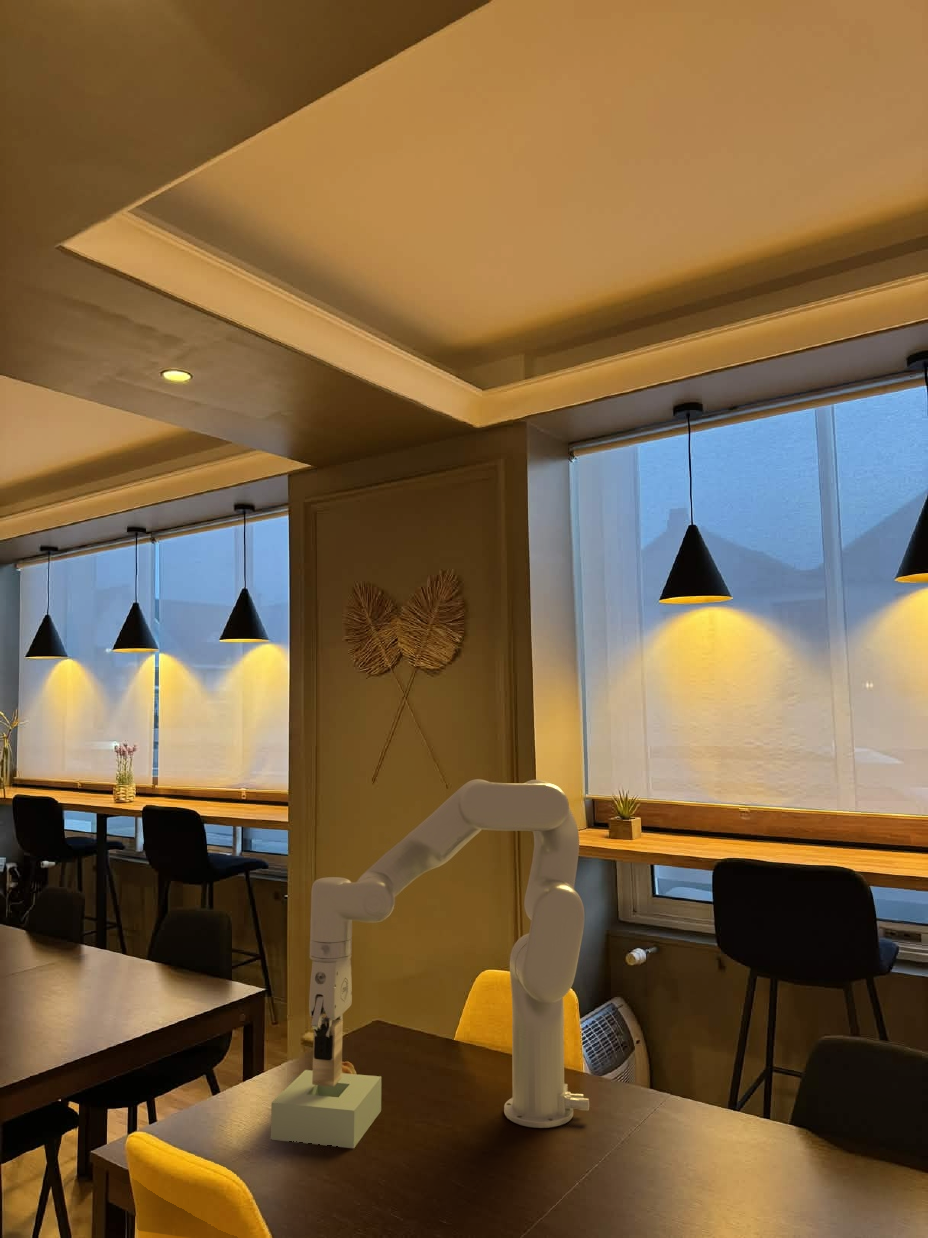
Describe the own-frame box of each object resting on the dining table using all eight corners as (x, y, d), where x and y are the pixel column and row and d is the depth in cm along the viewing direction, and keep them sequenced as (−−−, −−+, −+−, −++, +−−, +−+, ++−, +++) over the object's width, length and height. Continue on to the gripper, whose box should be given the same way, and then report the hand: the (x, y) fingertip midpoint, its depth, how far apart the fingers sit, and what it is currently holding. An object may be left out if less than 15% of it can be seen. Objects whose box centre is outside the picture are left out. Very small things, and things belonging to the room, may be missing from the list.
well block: (381, 1111, 165) (381, 1076, 165) (353, 1148, 150) (354, 1110, 151) (304, 1103, 168) (305, 1070, 168) (270, 1139, 153) (271, 1102, 154)
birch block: (341, 1078, 161) (342, 1020, 162) (333, 1087, 157) (335, 1027, 159) (320, 1076, 162) (322, 1018, 163) (312, 1084, 158) (313, 1025, 159)
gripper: (333, 961, 154) (331, 1074, 151) (365, 939, 170) (363, 1040, 168) (293, 958, 155) (289, 1070, 153) (327, 937, 171) (325, 1037, 169)
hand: (328, 1053), depth 160 cm, fingers closed on birch block, 4 cm apart
